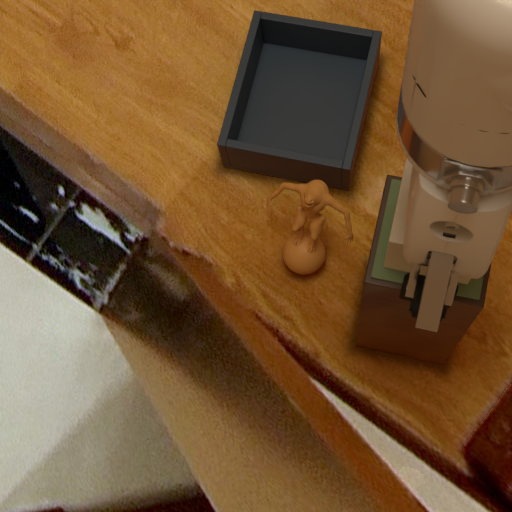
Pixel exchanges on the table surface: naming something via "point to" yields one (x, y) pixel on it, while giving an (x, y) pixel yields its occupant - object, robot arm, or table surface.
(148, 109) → the table surface
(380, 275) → the mat
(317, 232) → the figurine
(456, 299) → the stand
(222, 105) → the table surface
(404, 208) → the beige block
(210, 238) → the table surface
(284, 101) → the tray
